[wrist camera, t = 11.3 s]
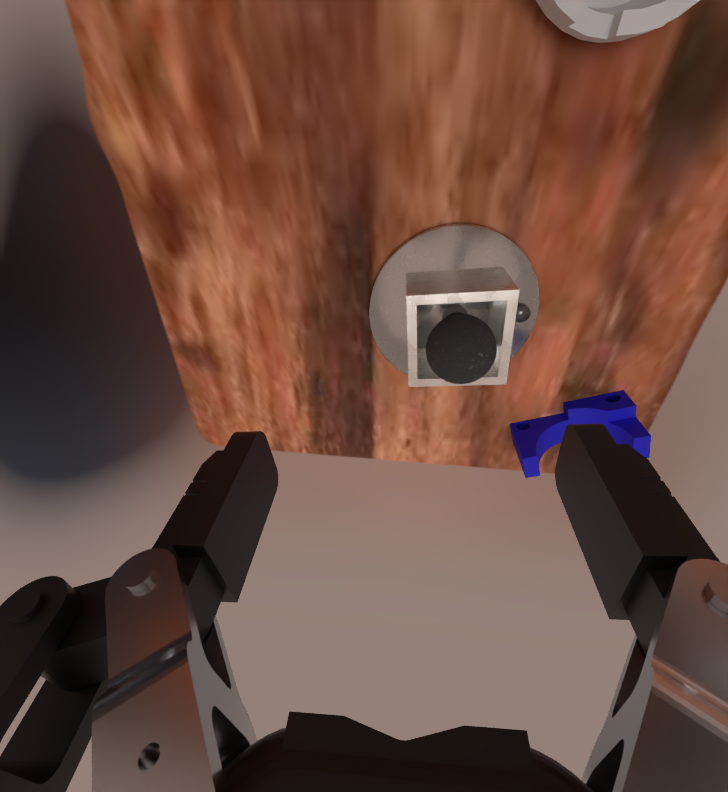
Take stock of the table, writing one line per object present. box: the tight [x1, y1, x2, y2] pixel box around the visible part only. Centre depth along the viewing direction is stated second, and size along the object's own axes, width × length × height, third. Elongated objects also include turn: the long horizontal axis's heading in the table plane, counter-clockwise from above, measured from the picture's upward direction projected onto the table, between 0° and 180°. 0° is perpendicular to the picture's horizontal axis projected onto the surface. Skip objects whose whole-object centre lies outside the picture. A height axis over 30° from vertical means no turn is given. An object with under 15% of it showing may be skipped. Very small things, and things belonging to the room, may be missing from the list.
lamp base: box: [369, 223, 539, 387], centre depth 35 cm, size 16×16×7 cm
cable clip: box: [510, 390, 651, 478], centre depth 42 cm, size 12×4×6 cm, turn 109°
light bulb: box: [426, 305, 497, 384], centre depth 33 cm, size 6×6×10 cm
